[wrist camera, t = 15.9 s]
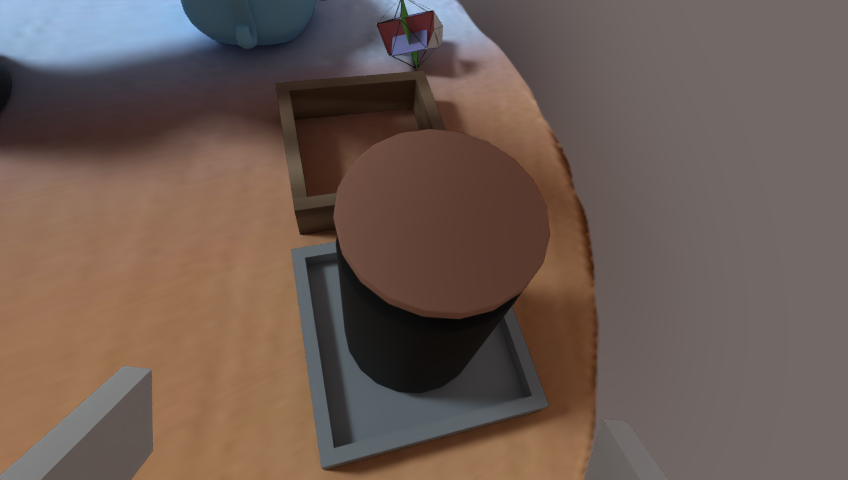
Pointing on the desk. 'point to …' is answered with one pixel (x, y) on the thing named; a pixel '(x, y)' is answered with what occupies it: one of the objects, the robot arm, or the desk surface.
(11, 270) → the desk surface
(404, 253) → the coffee jar
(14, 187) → the desk surface
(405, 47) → the geometric puzzle
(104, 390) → the robot arm
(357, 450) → the grey tray
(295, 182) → the walnut collar
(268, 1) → the decorative pot
